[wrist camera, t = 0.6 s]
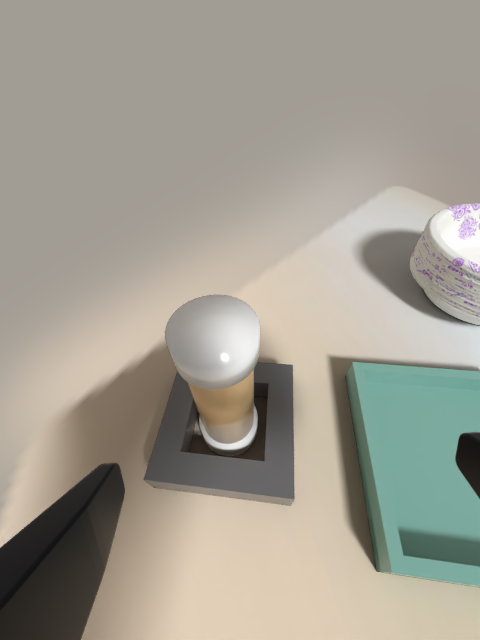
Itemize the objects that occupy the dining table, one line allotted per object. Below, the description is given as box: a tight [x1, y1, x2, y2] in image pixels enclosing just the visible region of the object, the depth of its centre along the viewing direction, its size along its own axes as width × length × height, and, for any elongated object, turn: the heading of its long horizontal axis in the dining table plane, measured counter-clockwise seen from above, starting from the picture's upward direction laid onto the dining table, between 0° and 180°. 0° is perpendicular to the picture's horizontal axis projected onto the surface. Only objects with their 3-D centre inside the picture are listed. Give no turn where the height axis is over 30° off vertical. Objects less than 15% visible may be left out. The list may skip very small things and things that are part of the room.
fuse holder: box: [144, 362, 294, 506], centre depth 22 cm, size 10×10×2 cm
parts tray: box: [345, 362, 480, 587], centre depth 19 cm, size 14×14×2 cm
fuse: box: [165, 295, 260, 456], centre depth 18 cm, size 5×5×13 cm
